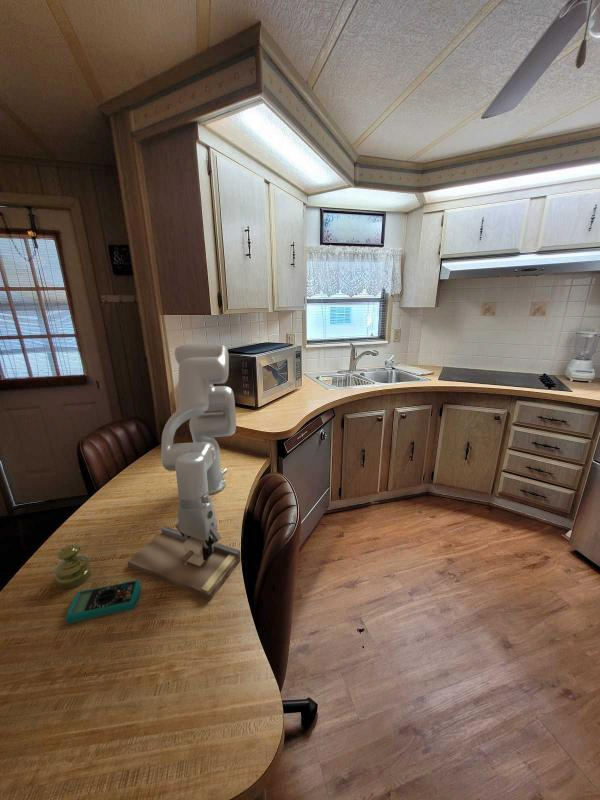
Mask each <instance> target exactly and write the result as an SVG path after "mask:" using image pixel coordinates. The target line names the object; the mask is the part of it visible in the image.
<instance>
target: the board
mask: <svg viewBox="0 0 600 800" xmlns="http://www.w3.org/2000/svg"><path fill="white" fill-rule="evenodd" d="M183 539H184V537H183V536H182V535H181V533H180V531H179V530H178V529H177V528H176V529H175V528H173V527H169V526H167V525H164V526H163V527H162V528H161V533H159V534H158V535H157V536H155V538H153V539H152V540H151V541H150V542H149V543H148V544H147V545H145V546H144V547H142V548H141V549H140V550H139V551H138V552H137V553H135V554H134V555H133V556H132V557H130V559H128V560H127V562H126V563H127V568H129V569H132V570H133V571H136V572H139V573H142V574H144V575H146V576H149V577H151V578H153V579H156V580H158V581H161V582H164V583H166V584H168V585H171V586H173V587H175V588H178V589H180V590H183V591H185V592H188V593H190V594H193V595H195V596H198V597H200V598H202V599H205V600H207V601H211V600H212V599H213V598H214V597H215V595H216V594H217V592H218V591H219V590H220V588H221V587H222V586H223V584H224V583H225V582H226V581H227V579H228V578H229V577H230V575H231V574H232V573H233V571H234V570H235V568H236V567H237V566H238V565H239V563H240V562H241V558H242V557H241V550H240V549H237V548H234V547H232V546H228V545H225V544H222V543H218V542H216V543H213V547H214V552H213V553H212V555H211V556H209V558H208V559H207V560H205V562H204V563H203V564H202V565H201V566H198V565H195V564H193V563H190V562H187V565H186V566H185V564H184V562H183V561H182V558H183V557H184V556H185V551H184V542H185V541H184V540H183Z"/></svg>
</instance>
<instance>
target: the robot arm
mask: <svg viewBox="0 0 600 800" xmlns="http://www.w3.org/2000/svg"><path fill="white" fill-rule="evenodd" d="M229 354H230V353H229V351H228V348H227V346H226V345H223V344H220V343H219V344H218V343H217V344H216V343H215V344H213V343H212V344H209V343H208V344H202V343H201V344H199V343H198V344H196V343H195V344H193V343H192V344H182V345H178V346H176V348H175V350H174V357H175V361H176V363H177V364H178V407H177V409H176V410H175V411H174V412H173V414H172V415H171V416H170V417H169V418H168V420H167V422H166V423H165V425H164V428H163V431H162V434H161V452H160V454H161V455H160V456H161V457H160V458H161V464H162V467H163V468H164V469H165V470H166V471H168V472H175V476H176V477H175V478H176V484H177V490H178V492H177V493H178V504H177V523H176V525H175V528H176V530H179V531H180V533H181V535H182V536H183V537H184V539H183V540H184V541H186V540H187V539H188V538H189V537H191V536H192V537H195V538H198V539H201V540H202V543H203V546H204V548H203V559H204V560H207V559H208V558H209V556H211V555H212V544H213V543H218V542H219V541H220V540H221V535H220V534H219V533H218V522H217V515H216V511H215V508H214V505H213V501H212V498H211V497H210V495H214V494H216V493H219V492H221V491H222V490H223V489H225V487H226V479H225V478H223V477H224V475H225V474H227V472H228V469H227V468H223V469H221V467H222V466H221V454H220V445H219V443H218V441H217V440H216V439H215V438H218V437H219V438H220V437H229V436H233V435H234V434H235V433H236V430H237V419H236V418H237V417H236V414H237V413H236V403H235V402H236V401H235V394H234V391H233V389H232V388H231V387H230V386H227V385H226V386H225V385H223V386H222V385H221V386H220V384H226V383H227V381H228V379H229V373H230V372H229V369H230V366H229V365H230V364H229V361H230V360H229V359H230V358H229V357H230V356H229ZM215 384H216V385H217V384H219V385H218V386H216V385H215ZM214 385H215V386H214ZM187 421H189V424H188V425H189V431H190V434H191V437H192V438H191V439H192V441H193V442H183V443H174V438H175V433H176V431H177V429H179V427H180V426H182V425H183V424H184V423H185V422H187ZM212 537H213V538H212ZM207 540H209V541H208V542H207Z"/></svg>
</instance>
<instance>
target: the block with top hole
mask: <svg viewBox="0 0 600 800" xmlns="http://www.w3.org/2000/svg"><path fill="white" fill-rule="evenodd" d="M212 538H213V537H212ZM208 541H209V540H207V542H208ZM203 548H204V546H203V543H202V540H201V539H198V538H195V537H192V536H191V537H189V538H188V539H187V540H186V541H185V542H184V551H185V556H184V557H183V558H182V561H183V562H184V564H185V566H186V565H187V562H190V563H193V564H195V565H198V566H201V565H202V564H203V563H204V562H205V560H204V559H203ZM213 552H214V547H213V544H212V553H213Z"/></svg>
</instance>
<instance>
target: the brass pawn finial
mask: <svg viewBox="0 0 600 800" xmlns="http://www.w3.org/2000/svg"><path fill="white" fill-rule="evenodd" d="M81 548H82V547H81V545H80V544H77V543H72V544H69V545H66V546H64V547H63V548H61V549H60V550H58V551H57V553H56V557H57V559H58V560H62V561H61V562H60V563H58V565H57V566H56V568H55V570H54V575H55V577H56V579H55V580H56V582H57V587H59V588H60V589H63V590H70V589H74V588H76V587H79V586H80V585H83V584H84V582H86V581H87V580H88V579H89V578H90V576H91V575H92V568H91V567H92V566H91V564H90V558H89V556H87V555H85V554H78V553H80V551H81Z"/></svg>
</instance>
